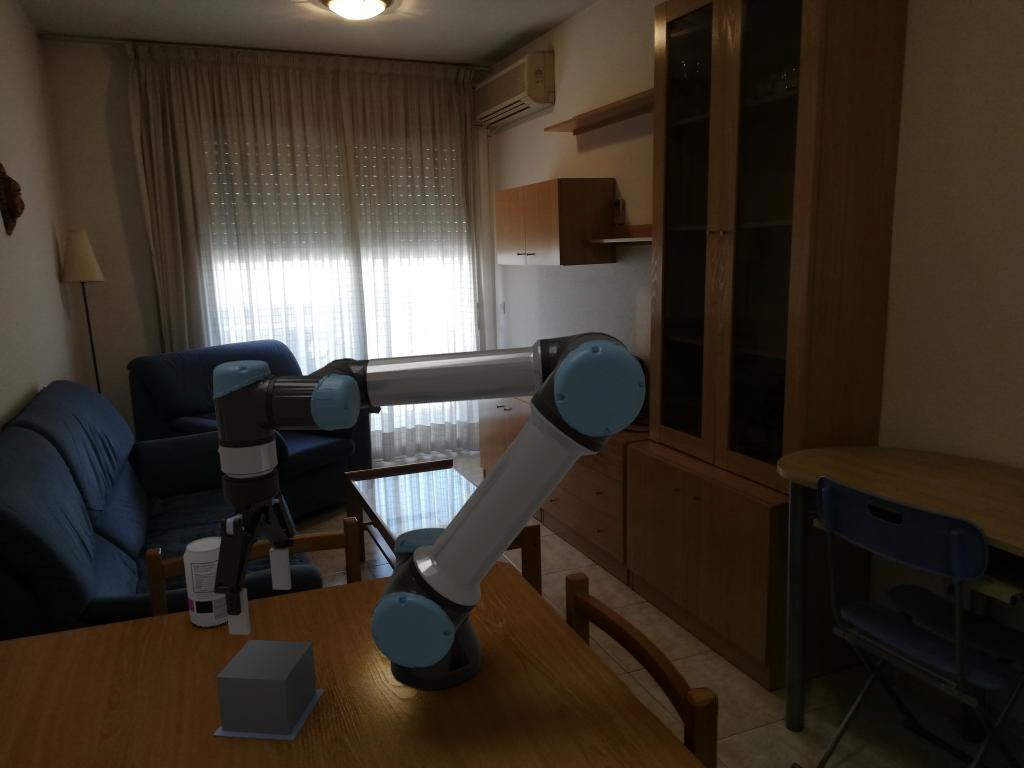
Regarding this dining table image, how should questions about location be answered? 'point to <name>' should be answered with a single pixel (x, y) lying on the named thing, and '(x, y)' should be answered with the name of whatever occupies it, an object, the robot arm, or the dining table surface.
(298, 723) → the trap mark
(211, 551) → the supplement can
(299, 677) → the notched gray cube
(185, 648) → the dining table surface
